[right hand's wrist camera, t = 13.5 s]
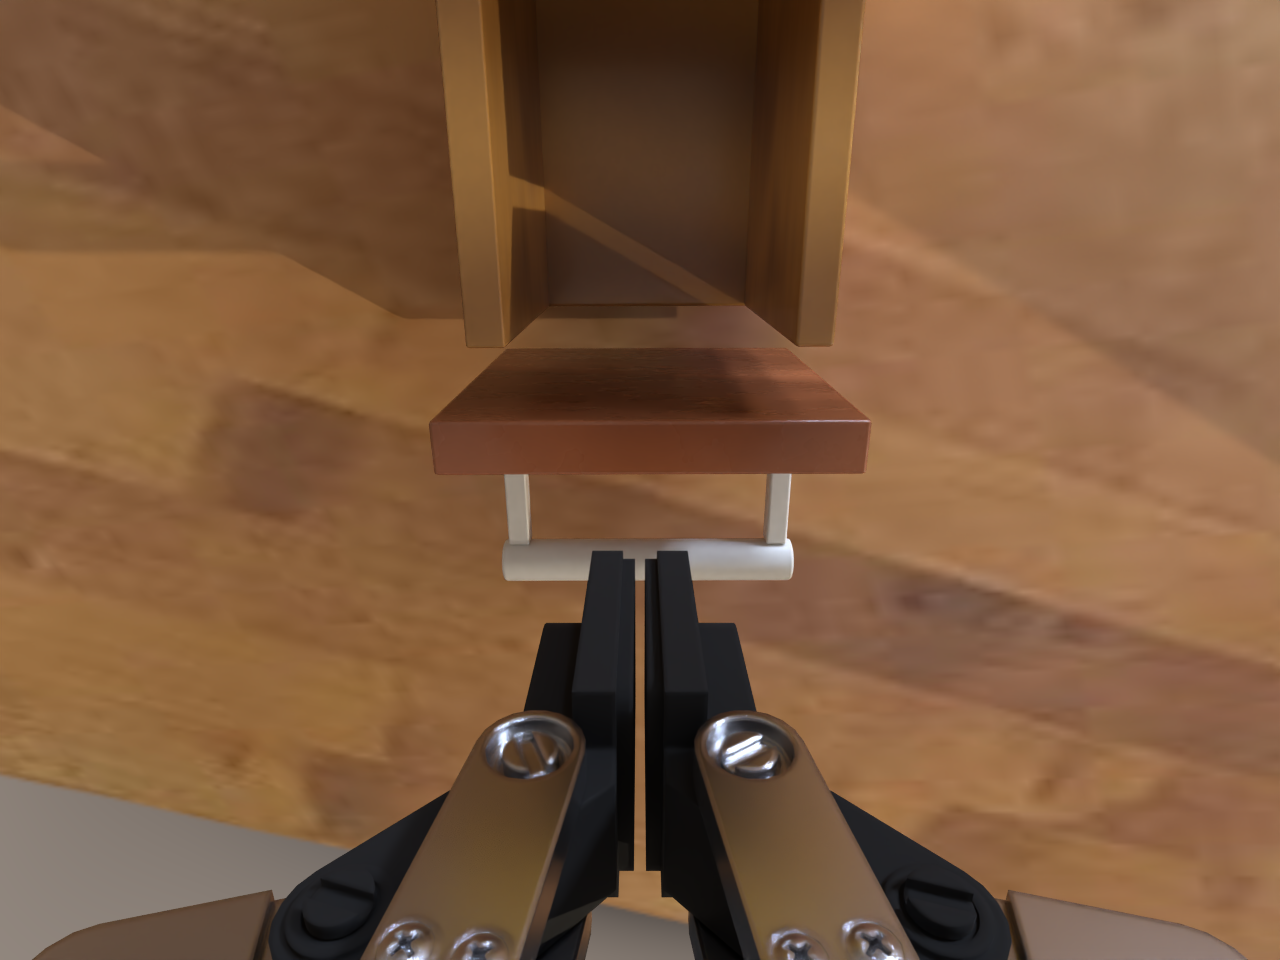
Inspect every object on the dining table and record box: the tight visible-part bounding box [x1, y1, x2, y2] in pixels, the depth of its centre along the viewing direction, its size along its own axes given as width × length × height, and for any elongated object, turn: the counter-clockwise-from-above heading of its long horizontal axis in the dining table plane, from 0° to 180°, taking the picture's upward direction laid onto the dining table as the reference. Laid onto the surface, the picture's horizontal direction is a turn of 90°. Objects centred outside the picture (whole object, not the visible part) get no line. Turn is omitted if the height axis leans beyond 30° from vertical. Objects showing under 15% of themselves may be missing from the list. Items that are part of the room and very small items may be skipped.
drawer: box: [429, 0, 871, 581], centre depth 17 cm, size 20×9×9 cm, turn 0°
